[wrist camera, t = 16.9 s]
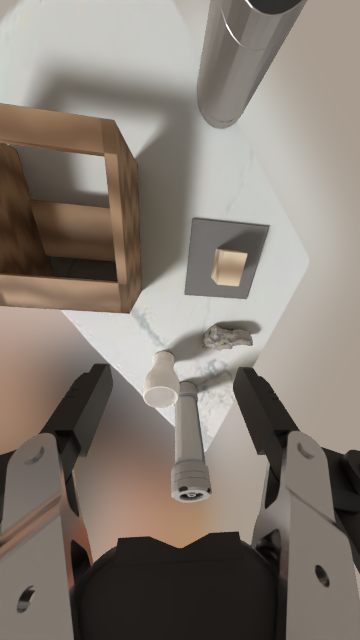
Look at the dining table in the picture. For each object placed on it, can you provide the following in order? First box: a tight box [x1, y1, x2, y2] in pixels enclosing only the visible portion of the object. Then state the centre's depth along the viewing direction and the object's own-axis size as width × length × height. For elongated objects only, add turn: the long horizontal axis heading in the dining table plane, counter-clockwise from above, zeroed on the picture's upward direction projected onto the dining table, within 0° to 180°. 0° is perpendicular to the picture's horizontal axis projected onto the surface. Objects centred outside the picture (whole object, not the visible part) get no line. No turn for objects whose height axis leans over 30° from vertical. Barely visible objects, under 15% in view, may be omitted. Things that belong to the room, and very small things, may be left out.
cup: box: [143, 351, 180, 408], centre depth 49 cm, size 11×11×15 cm
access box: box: [0, 103, 142, 314], centre depth 30 cm, size 26×24×14 cm
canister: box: [171, 382, 212, 502], centre depth 51 cm, size 10×10×30 cm
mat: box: [185, 219, 269, 299], centre depth 40 cm, size 18×18×1 cm
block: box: [211, 249, 247, 286], centre depth 37 cm, size 7×5×7 cm
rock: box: [202, 325, 253, 350], centre depth 49 cm, size 16×7×7 cm, turn 94°
